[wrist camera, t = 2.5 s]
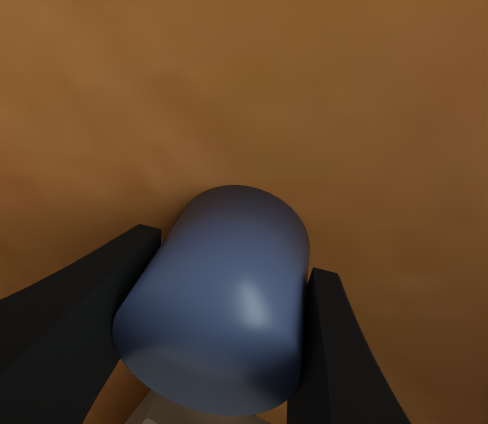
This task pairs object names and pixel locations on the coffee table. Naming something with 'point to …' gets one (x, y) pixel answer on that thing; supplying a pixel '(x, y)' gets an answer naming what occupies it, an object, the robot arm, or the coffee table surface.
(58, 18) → the coffee table surface
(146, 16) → the coffee table surface
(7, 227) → the coffee table surface
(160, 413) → the walnut base block
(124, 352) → the navy rounded cylinder
